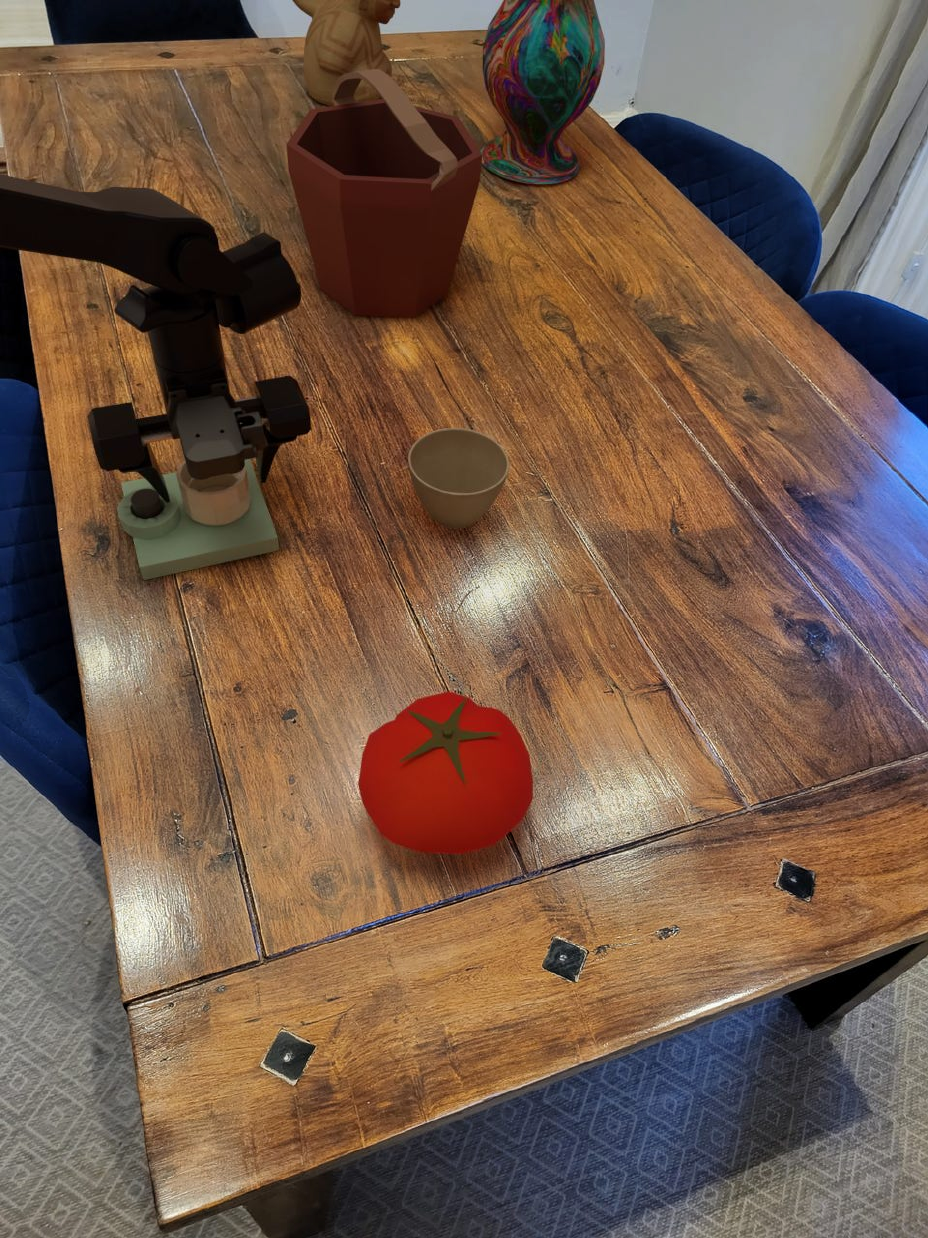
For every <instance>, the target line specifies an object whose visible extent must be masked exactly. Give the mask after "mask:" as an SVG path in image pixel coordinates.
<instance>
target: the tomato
mask: <svg viewBox="0 0 928 1238" xmlns="http://www.w3.org/2000/svg"><path fill="white" fill-rule="evenodd" d="M357 787H358V791H359V794H360V795H359V796H360V798H361V802H362V805H363V808H364V809H365V811H366V813H367V816H369V818H370V820H371V821H372V823H373V824H374V826H375V828H376V829H377V830H378V832H379V833H380V835H381V836H382V837H383V838H385V839H386V840H388V841H390V842H391V843H393V844H395V845H398V846H400V847H403V848H404V849H405V848H406V849H408V850H412V851H415V852H419V853H420V854H433V855H435V854H437V855H438V854H439V855H465V854H468V853H472V852H475V851H479V850H481V849H485V848H489V847H492V846H495V845H497V843H499V842H500V841H501V840H502V839H503V838H504V837H506V836H507V835H508V834H509V833H510V832H512V831H513V830H514V829H515V828H516V827H517V826H519V825H520V824H521V823H522V821H523V820H524V818H525V817H526V816H527V813H528V811H529V808H530V806H531V804H532V802H533V799H534V778H533V771H532V765H531V756H530V753H529V751H528V748H527V746H526V743H525V741H524V739H523V737H522V734H521V733H520V731H519V730H518V729H517V727H516V726H515V724H514V723H513V722H512V720H511V718H510V717H509V716H507V715H506V714H505V713H504V712H503V711H501V709H497V708H495V707H488V706H482V705H481V706H480V705H478V704H477V703H476V702H475V701H474V700H473V699H471V698H470V697H468V696H466V695H462V694H459V693H456V692H452V691H450V690H449V691H444V692H441V693H436V694H432V695H428V696H424V697H419V698H416V699H415V700H414V701H413V702H411V704H409V705H407V706H406V707H405V708H404V709H403V710H401V711H400V712H399V713H397V714H396V716H395V718H394V719H393V720H390V721H388V722H385V723H383V724H382V725H381V726H379V727H378V728H377V729H376V730H373V732H371V733H370V734H368V738H367V740H366V743H365V746H364V748H363V751H362V754H361V760H360V770H359V775H358V782H357Z"/></svg>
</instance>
